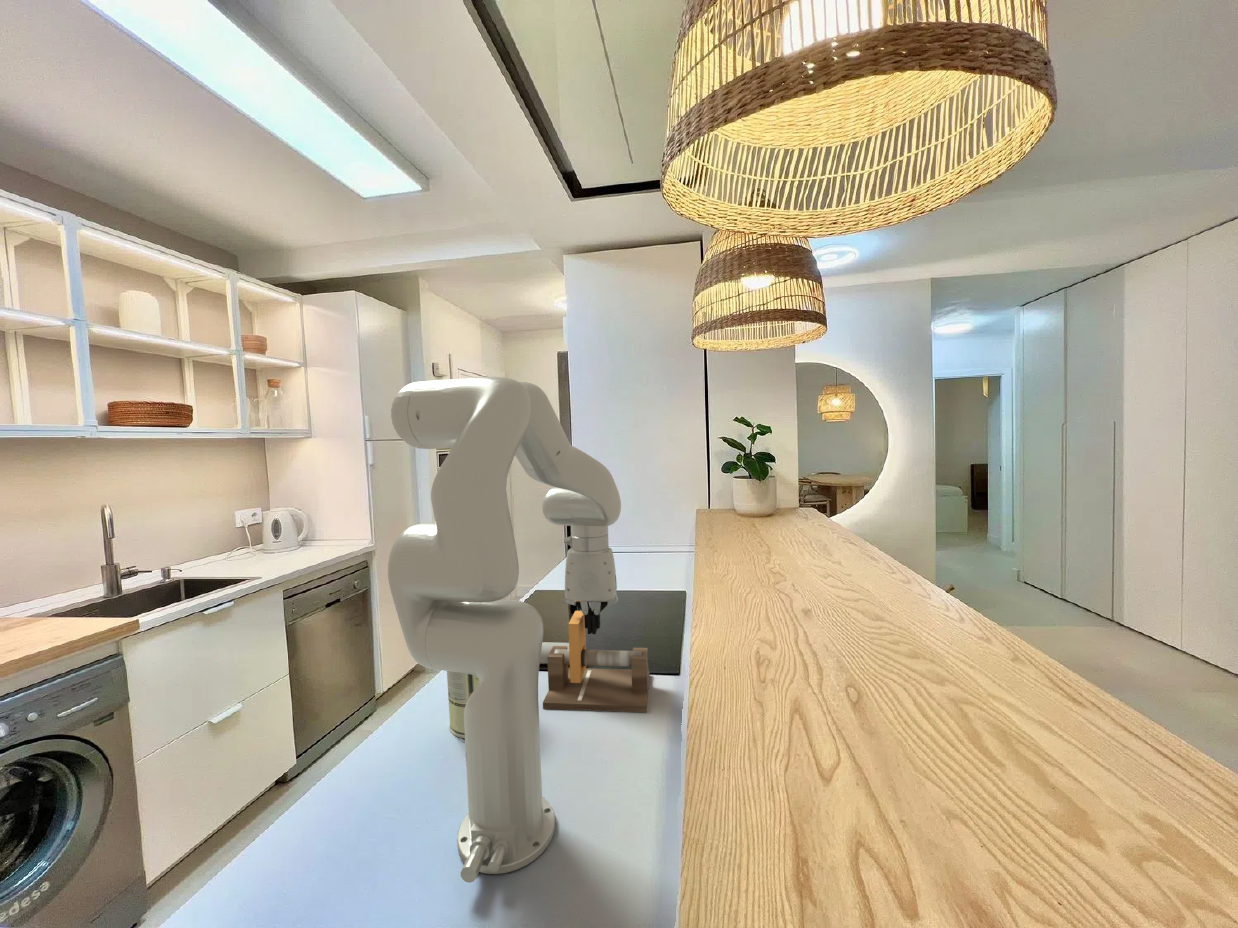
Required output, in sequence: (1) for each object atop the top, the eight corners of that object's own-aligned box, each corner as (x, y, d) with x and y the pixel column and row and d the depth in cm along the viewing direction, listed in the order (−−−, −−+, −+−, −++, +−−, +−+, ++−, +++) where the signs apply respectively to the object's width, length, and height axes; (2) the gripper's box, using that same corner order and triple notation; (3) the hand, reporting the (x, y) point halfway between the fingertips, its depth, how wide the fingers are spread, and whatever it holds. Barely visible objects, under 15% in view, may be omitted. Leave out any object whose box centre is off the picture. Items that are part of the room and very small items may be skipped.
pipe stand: (646, 712, 91) (645, 668, 91) (542, 708, 93) (541, 665, 93) (649, 675, 105) (648, 636, 105) (559, 672, 107) (558, 635, 107)
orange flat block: (580, 682, 96) (578, 623, 95) (570, 682, 96) (568, 623, 95) (586, 665, 103) (584, 610, 102) (577, 665, 103) (575, 610, 102)
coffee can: (475, 701, 97) (472, 633, 96) (517, 713, 92) (514, 641, 91) (436, 731, 87) (432, 655, 86) (481, 745, 83) (477, 665, 82)
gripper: (549, 547, 95) (552, 638, 96) (624, 547, 93) (627, 640, 94) (558, 539, 102) (561, 623, 103) (628, 538, 100) (630, 624, 102)
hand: (592, 631), depth 99 cm, fingers closed
